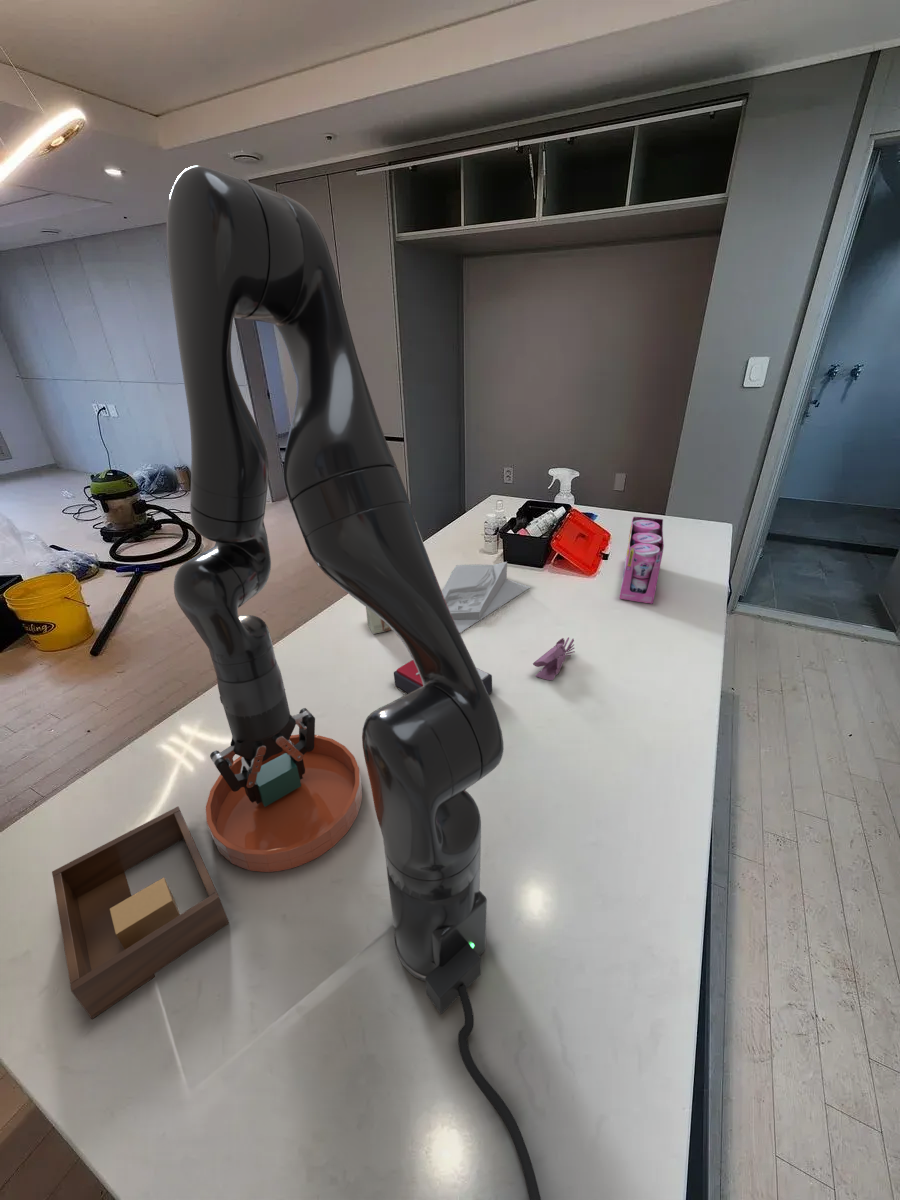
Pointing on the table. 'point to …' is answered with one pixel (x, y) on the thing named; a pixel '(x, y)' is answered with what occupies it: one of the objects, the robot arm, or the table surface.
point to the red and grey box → (411, 680)
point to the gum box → (642, 560)
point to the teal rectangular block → (277, 779)
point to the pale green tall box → (376, 623)
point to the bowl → (288, 812)
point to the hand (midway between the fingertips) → (278, 787)
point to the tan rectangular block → (143, 913)
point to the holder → (100, 885)
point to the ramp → (478, 592)
